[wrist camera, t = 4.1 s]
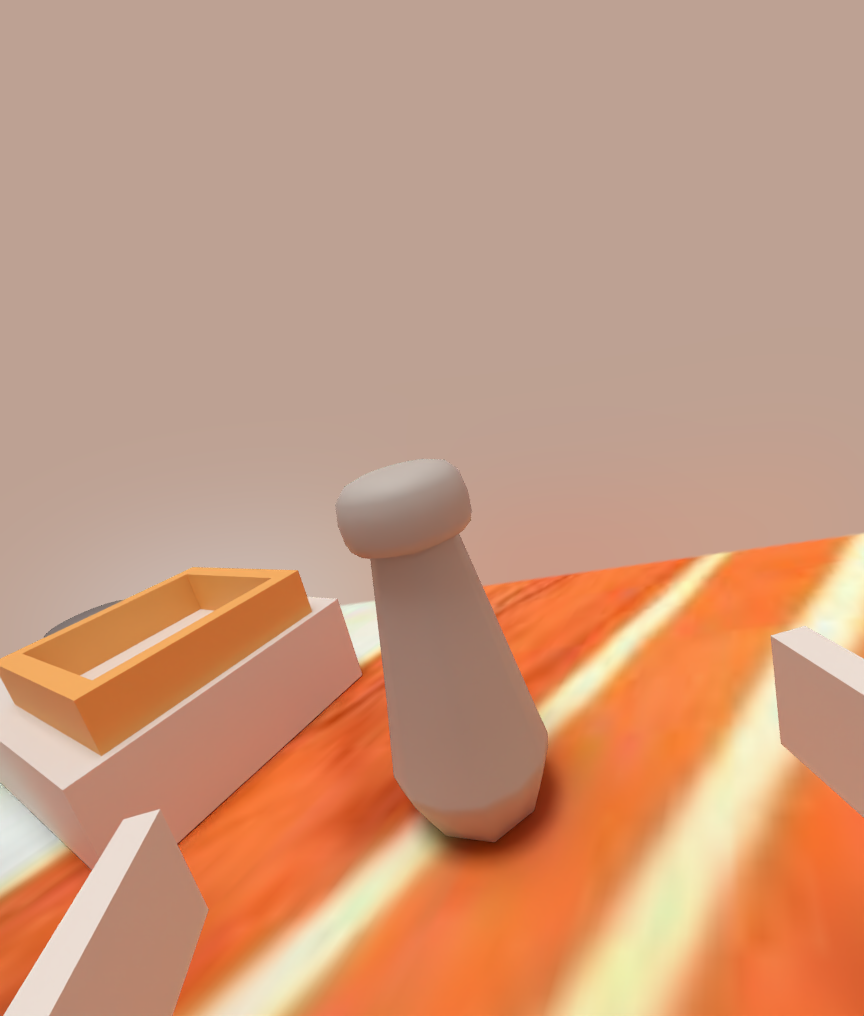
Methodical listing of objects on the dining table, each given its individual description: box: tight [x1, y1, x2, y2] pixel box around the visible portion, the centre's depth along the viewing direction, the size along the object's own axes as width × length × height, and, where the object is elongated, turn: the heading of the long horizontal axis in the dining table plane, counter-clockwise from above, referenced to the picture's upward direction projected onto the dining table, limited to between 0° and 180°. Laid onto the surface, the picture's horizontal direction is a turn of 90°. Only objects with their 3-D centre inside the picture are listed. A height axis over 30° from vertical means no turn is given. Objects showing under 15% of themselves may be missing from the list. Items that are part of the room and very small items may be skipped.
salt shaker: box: [335, 459, 548, 843], centre depth 18 cm, size 6×6×13 cm
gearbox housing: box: [0, 567, 362, 870], centre depth 30 cm, size 21×14×8 cm, turn 55°
